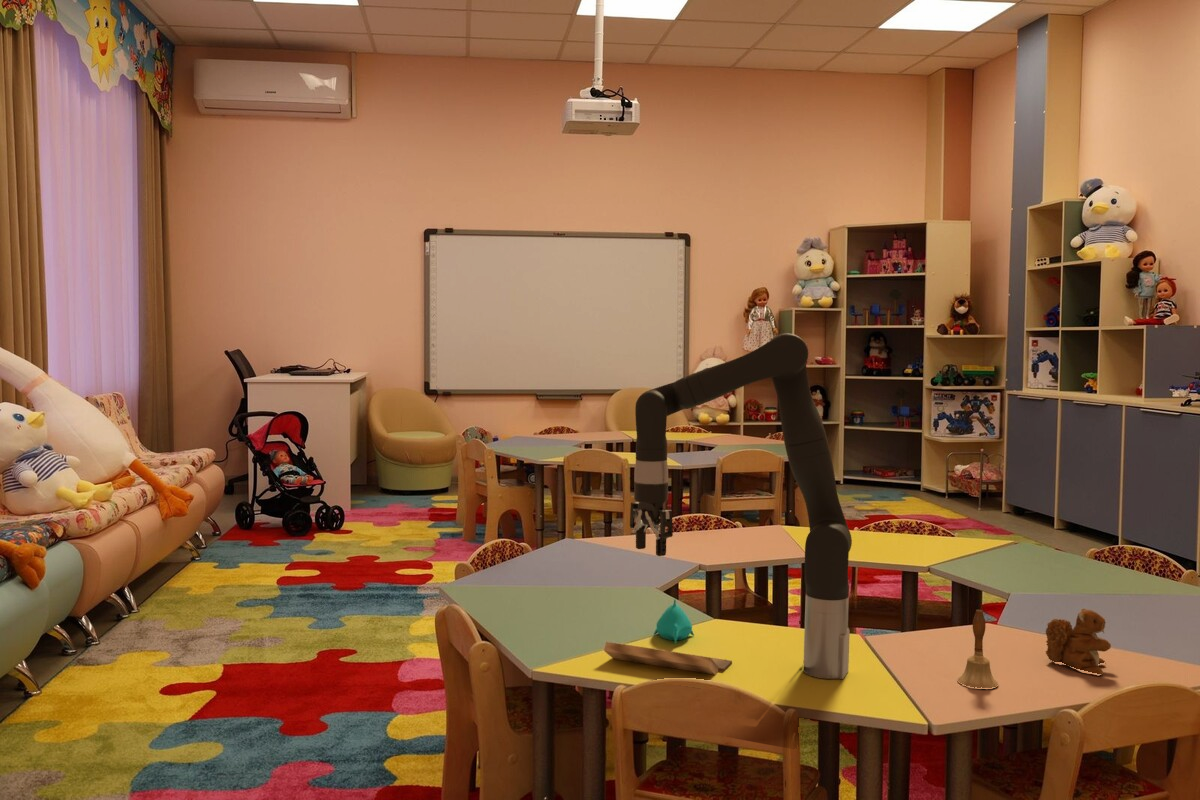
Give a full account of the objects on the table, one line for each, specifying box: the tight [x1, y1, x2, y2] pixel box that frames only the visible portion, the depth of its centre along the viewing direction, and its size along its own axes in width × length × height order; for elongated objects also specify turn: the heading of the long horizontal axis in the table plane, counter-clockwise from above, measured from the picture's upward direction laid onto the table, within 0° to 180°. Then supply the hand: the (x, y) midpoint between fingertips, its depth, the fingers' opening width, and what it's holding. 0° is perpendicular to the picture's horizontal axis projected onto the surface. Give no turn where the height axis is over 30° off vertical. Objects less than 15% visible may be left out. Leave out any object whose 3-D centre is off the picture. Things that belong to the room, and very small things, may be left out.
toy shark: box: [653, 598, 695, 644], centre depth 243 cm, size 10×18×11 cm, turn 178°
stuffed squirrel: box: [1045, 608, 1112, 675], centre depth 230 cm, size 10×14×13 cm
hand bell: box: [957, 609, 999, 688], centre depth 217 cm, size 8×8×16 cm
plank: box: [603, 641, 719, 676], centre depth 221 cm, size 24×7×2 cm
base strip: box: [622, 643, 733, 673], centre depth 227 cm, size 26×6×2 cm, turn 66°
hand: (650, 552), depth 228 cm, fingers open, 8 cm apart
